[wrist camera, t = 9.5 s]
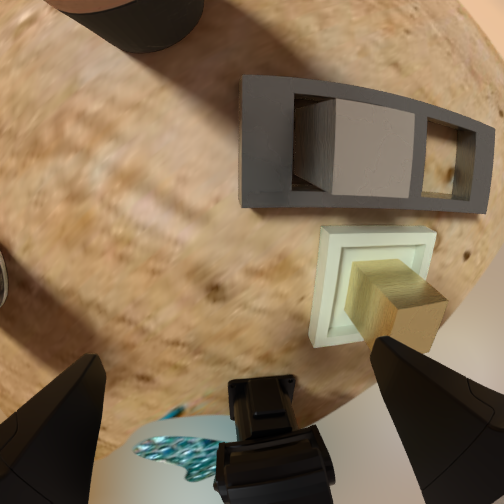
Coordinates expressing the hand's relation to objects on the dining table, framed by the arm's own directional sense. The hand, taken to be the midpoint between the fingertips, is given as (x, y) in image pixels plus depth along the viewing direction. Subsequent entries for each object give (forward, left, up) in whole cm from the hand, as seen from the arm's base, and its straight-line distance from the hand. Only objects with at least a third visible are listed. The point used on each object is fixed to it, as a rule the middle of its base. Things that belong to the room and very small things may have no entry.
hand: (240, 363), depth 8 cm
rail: (+6, -12, -13) cm, 19 cm away
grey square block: (+6, -7, -13) cm, 16 cm away
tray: (-5, -12, -13) cm, 18 cm away
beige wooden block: (-5, -12, -12) cm, 18 cm away
